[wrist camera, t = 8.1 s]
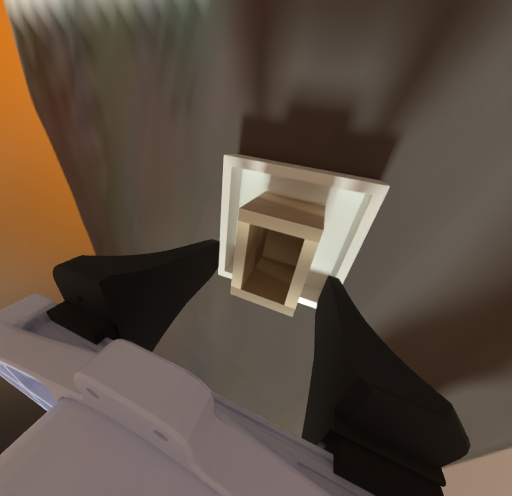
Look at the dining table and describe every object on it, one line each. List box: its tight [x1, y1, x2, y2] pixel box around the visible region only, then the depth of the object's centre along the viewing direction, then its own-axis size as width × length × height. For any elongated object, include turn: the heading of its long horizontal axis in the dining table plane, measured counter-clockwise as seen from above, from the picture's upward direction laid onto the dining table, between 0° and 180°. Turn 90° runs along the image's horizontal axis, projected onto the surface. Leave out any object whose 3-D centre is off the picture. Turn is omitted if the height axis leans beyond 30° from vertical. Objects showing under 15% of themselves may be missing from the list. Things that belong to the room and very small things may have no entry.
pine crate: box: [230, 190, 326, 317], centre depth 15 cm, size 7×5×6 cm
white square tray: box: [218, 154, 390, 308], centre depth 17 cm, size 11×11×3 cm
